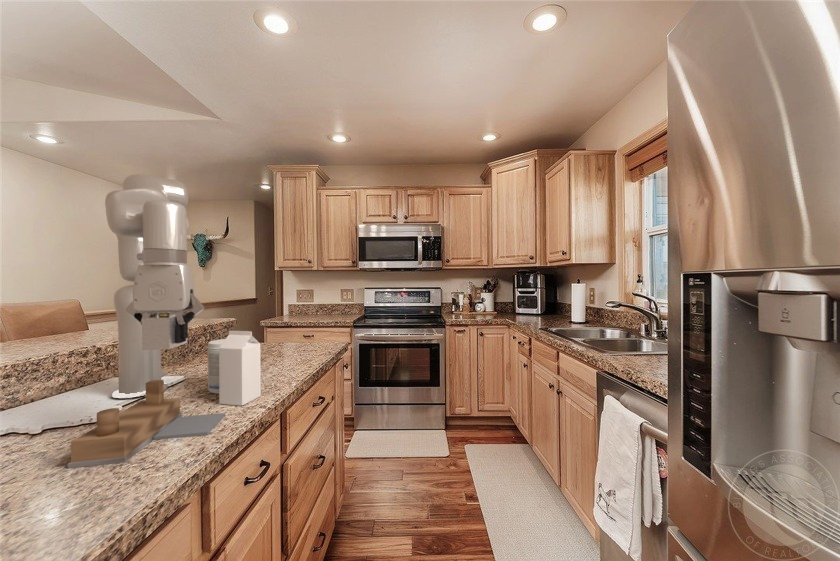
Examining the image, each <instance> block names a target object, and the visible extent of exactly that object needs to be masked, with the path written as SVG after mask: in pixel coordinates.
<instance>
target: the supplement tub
mask: <svg viewBox="0 0 840 561" xmlns="http://www.w3.org/2000/svg"><path fill="white" fill-rule="evenodd" d="M225 339H226V338H221V339H216V340H211V341H208V344H207V345H208V347H207V380H208V382H207V385H208V389H207V390H208V391H209V393H211V394H216V395H219V347H220V346H221V344H222V343H223V342H224V340H225Z"/></svg>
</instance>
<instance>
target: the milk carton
mask: <svg viewBox="0 0 840 561" xmlns="http://www.w3.org/2000/svg"><path fill="white" fill-rule="evenodd" d="M224 339H225V340H224V342H223V343H222V344H221V346H220V347H219V394H218V395H219V396H218V397H219V398H218V399H219V404H220V405H228V406H229V405H231V406H244V405H246V404H249V403H251V402H252V401H254V400H256V399H258V398H260V397H261V396H262V394H261V393H262V392H261V391H262V390H261V388H262V386H261V384H262V381H261V380H262V378H261V375H262V374H261V343H260V342H259V341H258V340H257V339H256V338H255V337H254V336H253V332H252V331H249V330H229V331H228V335H227V337H226V338H224Z"/></svg>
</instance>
